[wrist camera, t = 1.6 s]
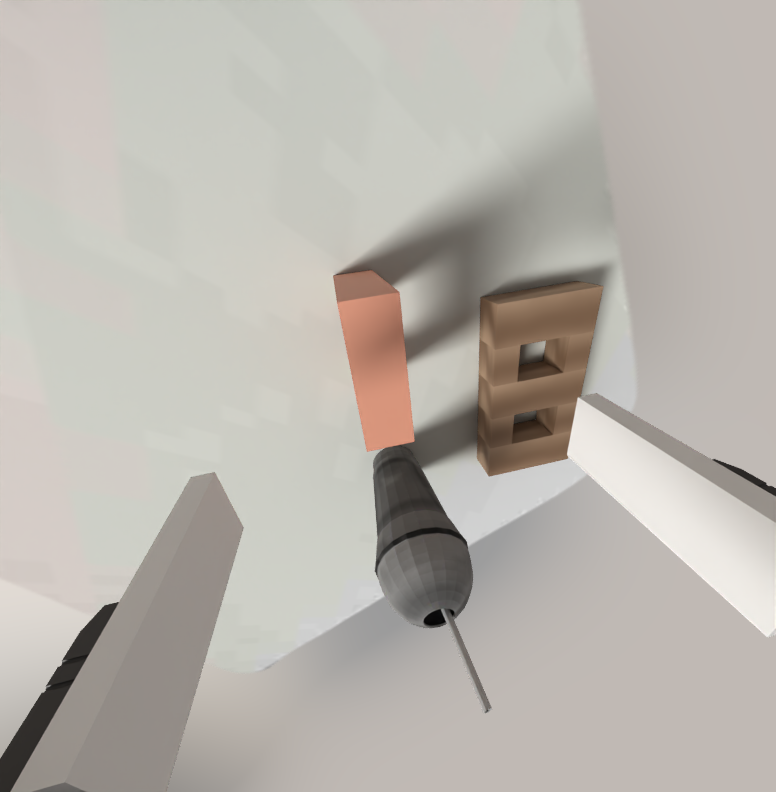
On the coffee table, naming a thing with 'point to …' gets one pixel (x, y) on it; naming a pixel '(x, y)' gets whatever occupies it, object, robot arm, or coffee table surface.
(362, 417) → the block
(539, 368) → the slotted wooden board
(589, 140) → the coffee table surface
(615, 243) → the coffee table surface
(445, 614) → the beverage cup
